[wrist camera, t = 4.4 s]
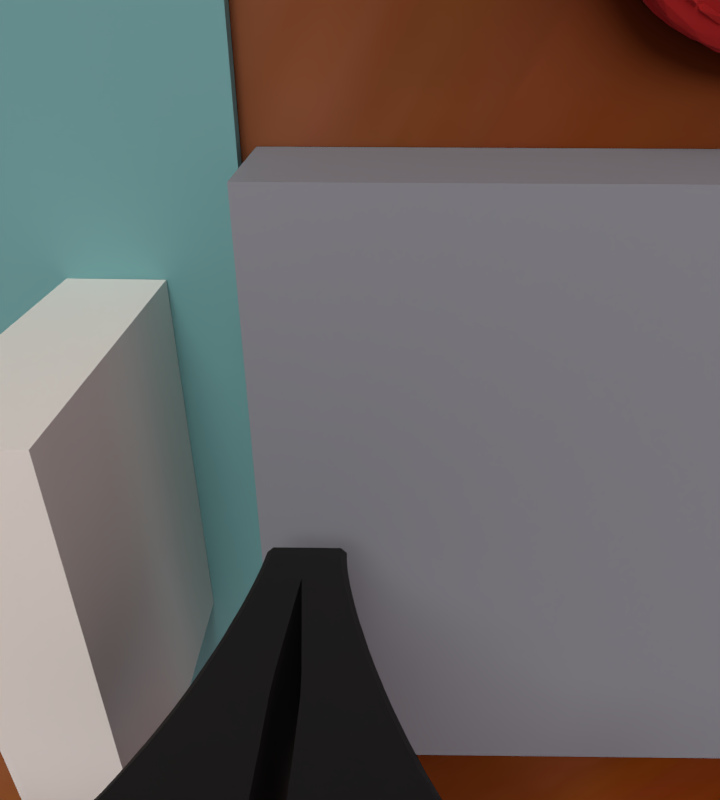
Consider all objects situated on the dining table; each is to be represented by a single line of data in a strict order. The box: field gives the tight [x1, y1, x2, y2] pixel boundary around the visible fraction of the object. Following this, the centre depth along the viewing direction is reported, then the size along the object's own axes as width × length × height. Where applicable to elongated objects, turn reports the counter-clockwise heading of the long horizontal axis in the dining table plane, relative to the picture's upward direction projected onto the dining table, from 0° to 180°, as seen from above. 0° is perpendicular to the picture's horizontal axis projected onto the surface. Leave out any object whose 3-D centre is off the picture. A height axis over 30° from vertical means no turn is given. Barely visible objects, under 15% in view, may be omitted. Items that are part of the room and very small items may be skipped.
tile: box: [0, 278, 214, 800], centre depth 13 cm, size 9×6×2 cm
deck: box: [227, 147, 720, 758], centre depth 15 cm, size 14×15×3 cm
